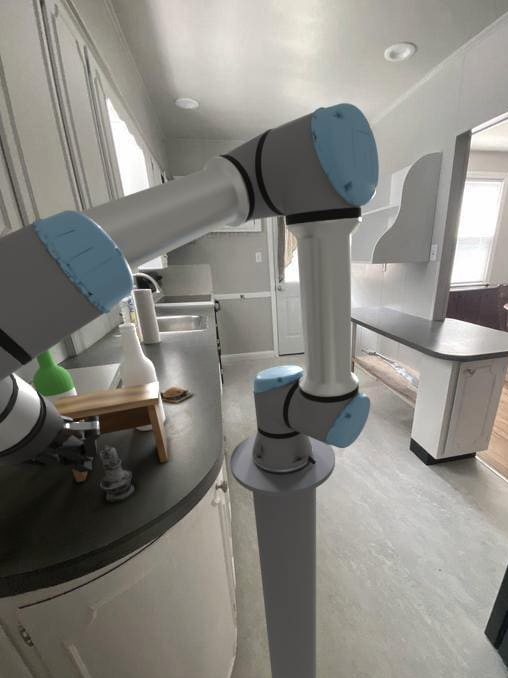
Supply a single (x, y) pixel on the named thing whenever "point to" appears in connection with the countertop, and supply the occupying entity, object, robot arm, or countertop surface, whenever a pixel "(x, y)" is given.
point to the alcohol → (136, 365)
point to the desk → (118, 413)
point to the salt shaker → (115, 476)
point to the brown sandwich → (175, 394)
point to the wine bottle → (52, 379)
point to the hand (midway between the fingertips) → (86, 463)
